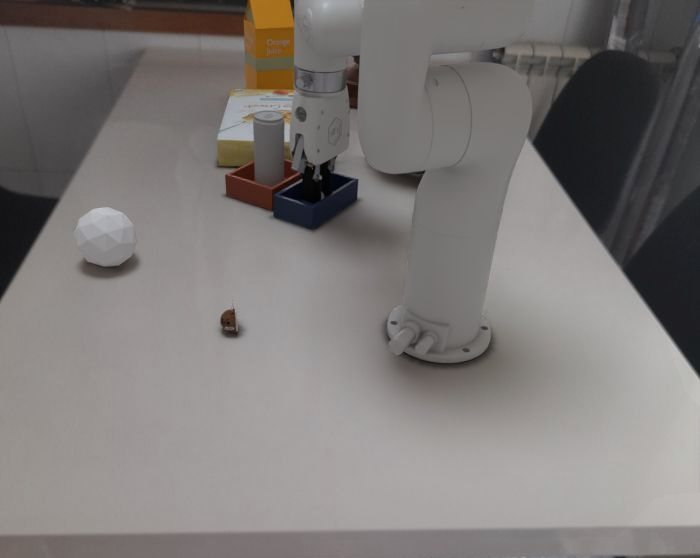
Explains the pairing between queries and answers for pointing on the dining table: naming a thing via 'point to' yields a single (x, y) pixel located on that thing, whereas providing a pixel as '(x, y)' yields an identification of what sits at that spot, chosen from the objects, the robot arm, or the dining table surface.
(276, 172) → the beverage can
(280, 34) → the orange juice
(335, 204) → the navy bin
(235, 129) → the cereal box
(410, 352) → the robot arm
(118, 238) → the geometric ball
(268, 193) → the terracotta bin
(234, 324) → the chocolate
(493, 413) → the dining table surface
